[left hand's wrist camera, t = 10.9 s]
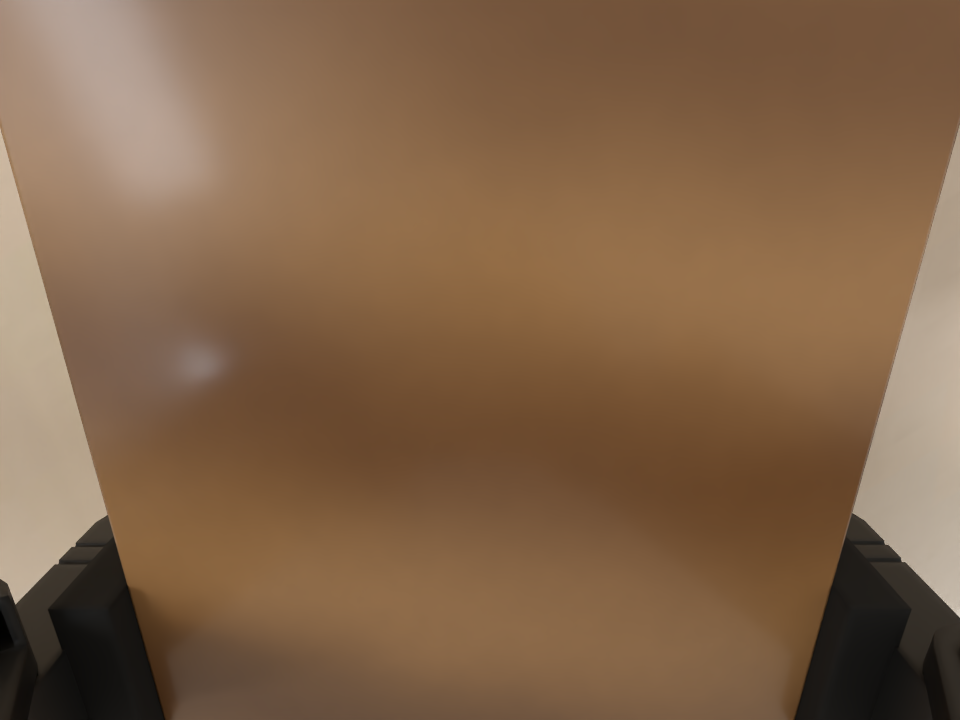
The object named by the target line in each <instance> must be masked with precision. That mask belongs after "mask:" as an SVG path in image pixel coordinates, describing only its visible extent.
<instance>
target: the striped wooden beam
mask: <svg viewBox="0 0 960 720" xmlns="http://www.w3.org/2000/svg"><path fill="white" fill-rule="evenodd" d="M959 125H960V0H0V128H1V132H2V135H3V139H4V143H5V146H6V150H7V153H8V157H9V161H10V164H11V168H12V171H13V175H14V179H15V182H16V186H17V189H18V193H19V197H20V200H21V204H22V207H23V211H24V215H25V218H26V222H27V225H28V229H29V233H30V236H31V240H32V243H33V247H34V251H35V254H36V258H37V261H38V265H39V269H40V272H41V276H42V279H43V283H44V287H45V290H46V294H47V298H48V301H49V305H50V308H51V312H52V315H53V319H54V323H55V326H56V330H57V334H58V337H59V341H60V344H61V348H62V352H63V355H64V359H65V362H66V366H67V370H68V373H69V377H70V380H71V384H72V388H73V391H74V395H75V398H76V402H77V406H78V409H79V413H80V416H81V420H82V424H83V427H84V431H85V434H86V438H87V442H88V445H89V449H90V452H91V456H92V460H93V463H94V467H95V470H96V474H97V478H98V481H99V485H100V488H101V492H102V496H103V499H104V503H105V506H106V510H107V514H108V517H109V521H110V524H111V528H112V532H113V535H114V539H115V542H116V546H117V550H118V553H119V557H120V560H121V564H122V568H123V571H124V575H125V578H126V582H127V586H128V589H129V593H130V596H131V600H132V604H133V607H134V611H135V614H136V618H137V622H138V625H139V629H140V632H141V636H142V640H143V643H144V647H145V650H146V654H147V658H148V661H149V665H150V668H151V672H152V676H153V679H154V683H155V686H156V690H157V694H158V697H159V701H160V704H161V708H162V712H163V715H164V719H165V720H795V717H796V713H797V710H798V706H799V703H800V699H801V695H802V692H803V688H804V684H805V681H806V677H807V674H808V670H809V666H810V663H811V659H812V656H813V652H814V648H815V645H816V641H817V638H818V634H819V630H820V627H821V623H822V619H823V616H824V612H825V609H826V605H827V601H828V598H829V594H830V591H831V587H832V583H833V580H834V576H835V573H836V569H837V565H838V562H839V558H840V554H841V551H842V547H843V544H844V540H845V536H846V533H847V529H848V526H849V522H850V518H851V515H852V511H853V508H854V504H855V500H856V497H857V493H858V489H859V486H860V482H861V479H862V475H863V471H864V468H865V464H866V461H867V457H868V453H869V450H870V446H871V443H872V439H873V435H874V432H875V428H876V425H877V421H878V417H879V414H880V410H881V406H882V403H883V399H884V396H885V392H886V388H887V385H888V381H889V378H890V374H891V370H892V367H893V363H894V360H895V356H896V352H897V349H898V345H899V341H900V338H901V334H902V331H903V327H904V323H905V320H906V316H907V313H908V309H909V305H910V302H911V298H912V295H913V291H914V287H915V284H916V280H917V276H918V273H919V269H920V266H921V262H922V258H923V255H924V251H925V248H926V244H927V240H928V237H929V233H930V230H931V226H932V222H933V219H934V215H935V211H936V208H937V204H938V201H939V197H940V193H941V190H942V186H943V183H944V179H945V175H946V172H947V168H948V165H949V161H950V157H951V154H952V150H953V146H954V143H955V139H956V136H957V132H958V128H959Z"/></svg>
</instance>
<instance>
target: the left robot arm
mask: <svg viewBox="0 0 960 720" xmlns="http://www.w3.org/2000/svg"><path fill="white" fill-rule="evenodd" d="M0 720H165V719H164V715H163V712H162V708H161V704H160V701H159V697H158V694H157V690H156V686H155V683H154V679H153V676H152V672H151V668H150V665H149V661H148V658H147V654H146V650H145V647H144V643H143V640H142V636H141V632H140V629H139V625H138V622H137V618H136V614H135V611H134V607H133V604H132V600H131V596H130V593H129V589H128V586H127V582H126V578H125V575H124V571H123V568H122V564H121V560H120V557H119V553H118V550H117V546H116V542H115V539H114V535H113V532H112V528H111V524H110V521H109V517H108V515H107V516H106V517H104V518H102V519H101V520H99V521H97V522H96V523H95V524H94V525H93V526H92V527H91V528H90V529H89V530H88V531H87V532H86V533H85V534H84V535H83V536H82V537H81V538H80V539H79V540H78V541H77V542H76V546H75V547H71V548H70V549H69V551H68V552H67V553H66V554H65V555H64V556H63V557H62V558H61V559H60V560H59V564H58V565H54V566H53V567H52V568H51V569H50V570H49V571H48V572H47V573H46V574H45V575H44V576H43V577H42V578H41V579H40V580H39V581H38V582H37V583H36V584H35V585H34V586H33V587H32V588H31V589H30V591H29V592H28V593H27V594H26V595H25V596H24V597H23V598H22V599H21V600H20V601H19V602H18V603H17V604H16V605H15V603H14V600H13V598H12V595H11V592H10V589H9V587H8V584H7V583H5V582H4V581H2V580H1V579H0ZM795 720H960V618H959V617H958V616H957V615H956V614H955V612H954V611H953V610H952V609H951V608H950V607H949V606H948V605H947V604H946V603H945V602H944V601H943V600H942V599H941V598H940V597H939V596H938V595H937V594H936V593H935V592H934V591H933V590H932V589H931V588H930V587H929V586H928V585H927V584H926V583H925V582H924V581H923V580H922V579H921V578H920V577H919V576H918V575H917V574H916V573H915V572H914V571H913V570H912V569H911V568H910V567H909V566H908V565H907V564H906V563H905V562H901V557H900V556H899V555H898V554H897V553H896V552H895V551H894V550H893V549H892V548H891V547H890V546H889V545H885V544H884V540H883V539H882V538H881V537H880V536H879V535H878V534H877V533H876V532H875V531H874V530H873V529H872V528H871V527H870V526H869V525H868V524H867V523H866V522H865V521H864V520H863V519H861V518H859V517H858V516H856V515H854V514H853V513H852V515H851V518H850V522H849V526H848V529H847V533H846V536H845V540H844V544H843V547H842V551H841V554H840V558H839V562H838V565H837V569H836V573H835V576H834V580H833V583H832V587H831V591H830V594H829V598H828V601H827V605H826V609H825V612H824V616H823V619H822V623H821V627H820V630H819V634H818V638H817V641H816V645H815V648H814V652H813V656H812V659H811V663H810V666H809V670H808V674H807V677H806V681H805V684H804V688H803V692H802V695H801V699H800V703H799V706H798V710H797V713H796V717H795Z"/></svg>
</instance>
